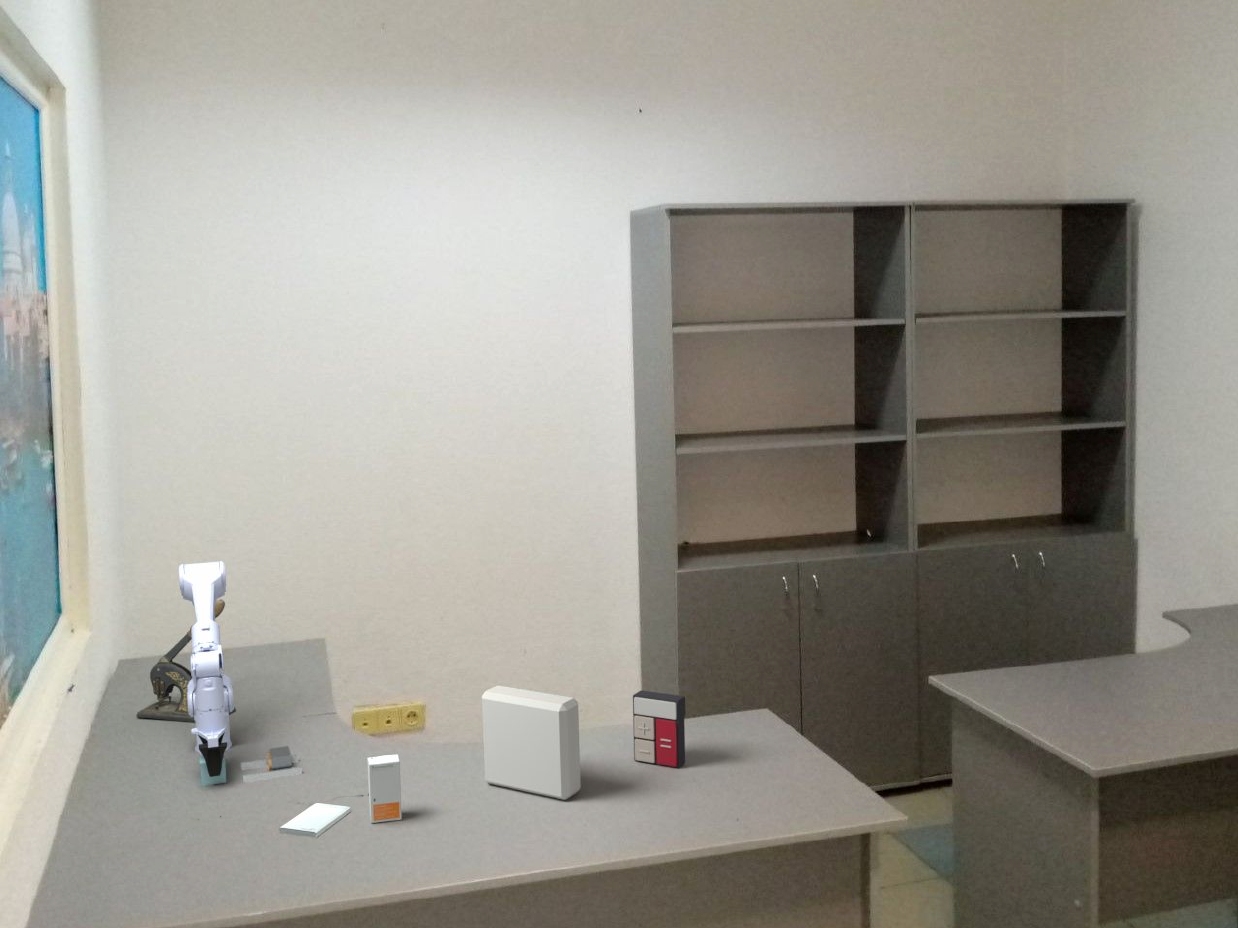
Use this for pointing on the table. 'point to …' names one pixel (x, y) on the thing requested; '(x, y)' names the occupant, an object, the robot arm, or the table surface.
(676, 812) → the table surface
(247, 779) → the frame
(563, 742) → the bevelled white case
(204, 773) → the block
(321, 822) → the hard drive
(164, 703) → the embossing press
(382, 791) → the skincare box
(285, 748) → the block
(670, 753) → the calculator
